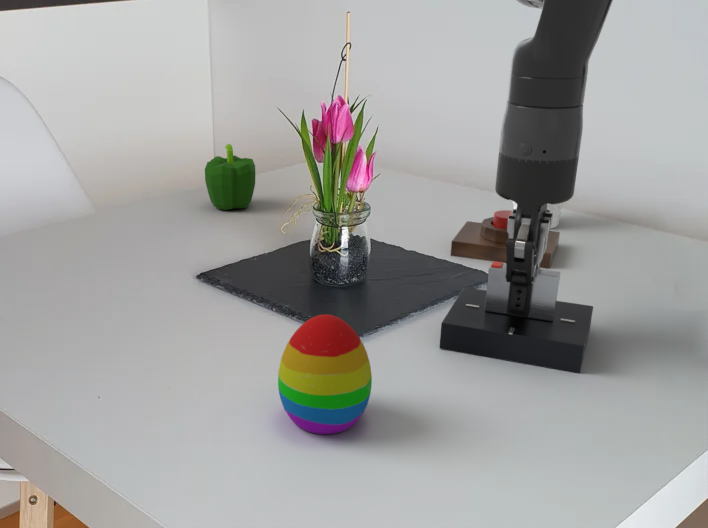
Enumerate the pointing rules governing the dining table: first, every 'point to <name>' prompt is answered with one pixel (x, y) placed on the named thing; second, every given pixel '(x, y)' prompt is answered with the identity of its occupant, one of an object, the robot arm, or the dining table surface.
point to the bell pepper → (230, 181)
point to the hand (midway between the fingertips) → (519, 310)
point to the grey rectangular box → (541, 292)
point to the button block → (493, 243)
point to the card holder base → (517, 333)
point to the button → (501, 218)
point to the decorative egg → (324, 376)
